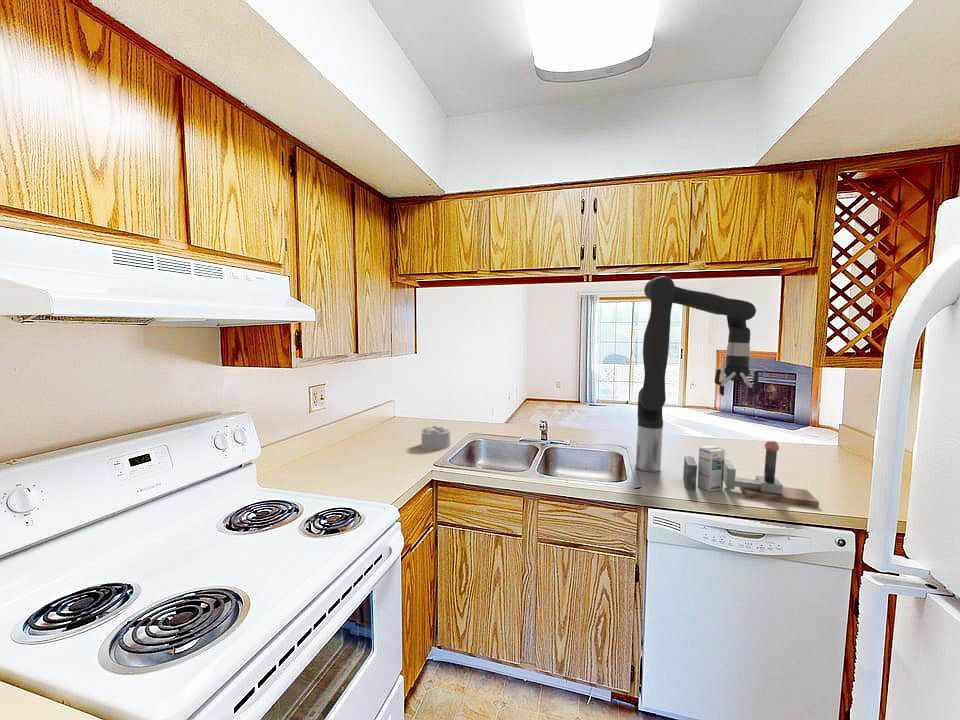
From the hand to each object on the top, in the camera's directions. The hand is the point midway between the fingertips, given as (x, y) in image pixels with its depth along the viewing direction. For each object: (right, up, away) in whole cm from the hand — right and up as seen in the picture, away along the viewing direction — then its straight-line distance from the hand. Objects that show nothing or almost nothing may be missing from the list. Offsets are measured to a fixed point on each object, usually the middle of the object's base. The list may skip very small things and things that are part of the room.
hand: (734, 396), depth 161 cm
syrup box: (-17, -32, -13) cm, 38 cm away
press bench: (-7, -32, -17) cm, 37 cm away
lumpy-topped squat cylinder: (-119, -26, +32) cm, 126 cm away
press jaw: (-5, -30, -18) cm, 35 cm away
